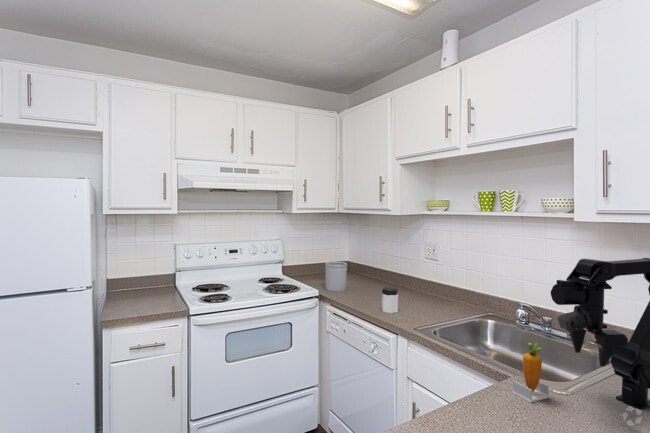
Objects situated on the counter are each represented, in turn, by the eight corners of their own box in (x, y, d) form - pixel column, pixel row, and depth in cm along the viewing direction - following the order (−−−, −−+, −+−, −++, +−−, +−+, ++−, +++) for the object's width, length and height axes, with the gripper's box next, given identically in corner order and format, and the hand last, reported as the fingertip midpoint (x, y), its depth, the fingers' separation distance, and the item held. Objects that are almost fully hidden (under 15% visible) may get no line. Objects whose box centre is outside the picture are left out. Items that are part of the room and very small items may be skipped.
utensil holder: (349, 290, 242) (350, 264, 241) (328, 291, 237) (328, 265, 237) (342, 286, 256) (343, 261, 255) (322, 287, 252) (322, 261, 251)
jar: (380, 308, 199) (380, 286, 199) (395, 308, 200) (395, 286, 199) (383, 313, 190) (383, 290, 190) (399, 313, 191) (399, 290, 190)
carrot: (534, 388, 111) (535, 339, 110) (544, 396, 106) (546, 345, 105) (518, 388, 110) (519, 339, 110) (527, 396, 106) (529, 345, 105)
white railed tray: (530, 388, 112) (530, 377, 112) (548, 397, 107) (548, 386, 107) (512, 392, 110) (512, 381, 109) (530, 402, 104) (530, 390, 104)
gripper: (542, 296, 112) (540, 346, 112) (588, 313, 93) (586, 374, 93) (577, 296, 112) (576, 346, 113) (630, 313, 94) (628, 374, 94)
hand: (589, 359), depth 103 cm, fingers open, 9 cm apart
